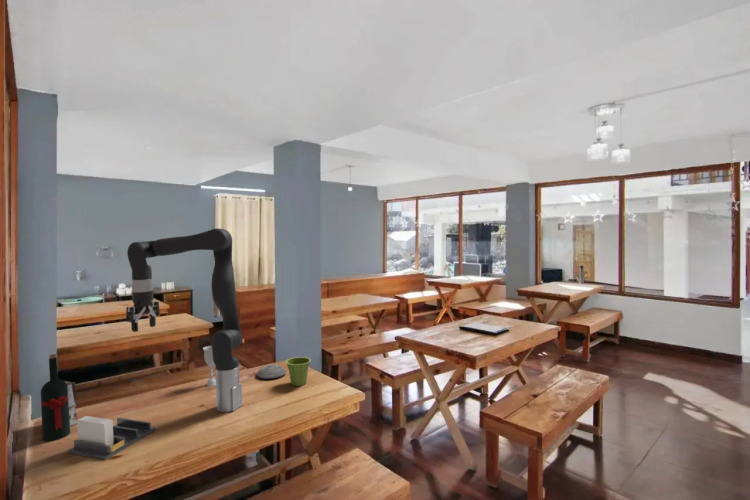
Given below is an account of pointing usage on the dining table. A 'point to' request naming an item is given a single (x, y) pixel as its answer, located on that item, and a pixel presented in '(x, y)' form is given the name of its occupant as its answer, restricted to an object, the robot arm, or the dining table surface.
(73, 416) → the coffee box
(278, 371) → the grey stone
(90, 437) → the panel
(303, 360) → the plant pot
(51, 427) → the wine bottle
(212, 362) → the chalice
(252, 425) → the dining table surface
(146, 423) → the rack
